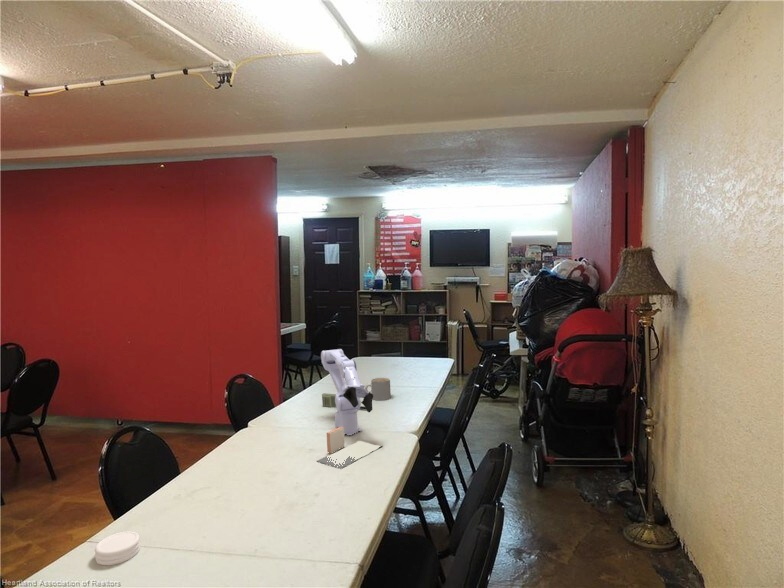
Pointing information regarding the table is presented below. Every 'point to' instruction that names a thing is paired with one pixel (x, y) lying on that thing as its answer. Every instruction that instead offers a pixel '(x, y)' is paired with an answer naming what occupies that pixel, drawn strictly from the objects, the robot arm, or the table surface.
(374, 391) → the coffee mug
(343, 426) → the robot arm
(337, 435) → the peach square slab
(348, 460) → the rubber mat
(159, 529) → the table surface
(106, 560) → the white thick disc
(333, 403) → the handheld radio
